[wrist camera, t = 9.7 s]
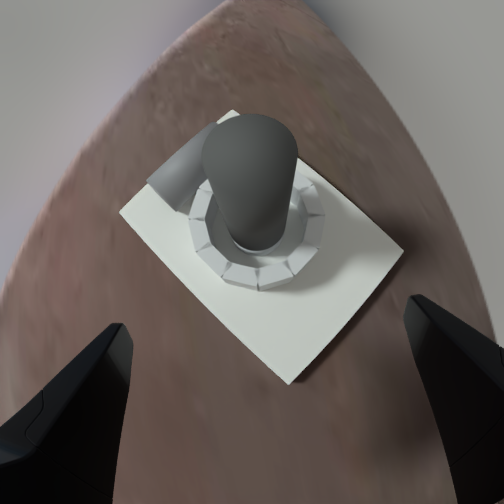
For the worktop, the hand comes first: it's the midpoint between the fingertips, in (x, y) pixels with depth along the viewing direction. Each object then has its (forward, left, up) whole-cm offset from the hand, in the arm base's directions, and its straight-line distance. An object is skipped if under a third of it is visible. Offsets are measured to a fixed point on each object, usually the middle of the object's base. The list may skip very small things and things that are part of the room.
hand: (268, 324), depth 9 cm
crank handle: (+5, -4, -11) cm, 12 cm away
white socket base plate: (+5, -4, -12) cm, 13 cm away
